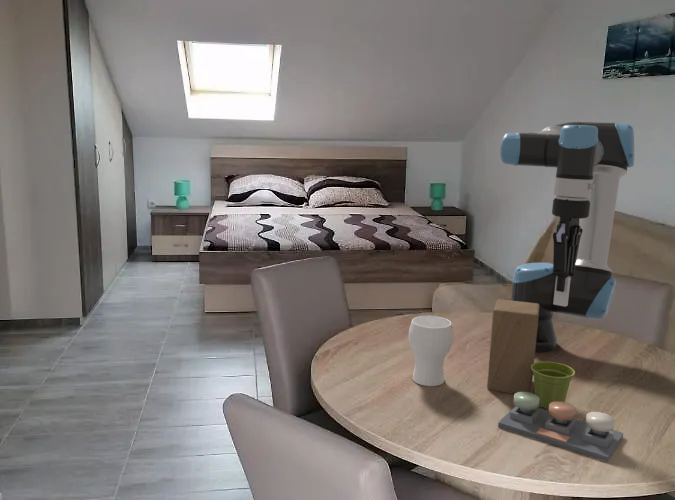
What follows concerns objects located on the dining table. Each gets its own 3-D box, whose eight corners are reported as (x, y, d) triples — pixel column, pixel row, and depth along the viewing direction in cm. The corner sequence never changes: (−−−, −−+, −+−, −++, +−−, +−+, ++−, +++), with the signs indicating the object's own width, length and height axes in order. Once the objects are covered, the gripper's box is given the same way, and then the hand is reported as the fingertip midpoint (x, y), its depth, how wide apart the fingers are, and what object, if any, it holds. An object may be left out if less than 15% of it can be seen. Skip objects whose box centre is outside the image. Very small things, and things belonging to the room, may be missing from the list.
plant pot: (521, 396, 149) (524, 361, 147) (560, 395, 150) (564, 360, 148) (537, 414, 140) (540, 377, 138) (578, 413, 141) (582, 377, 139)
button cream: (581, 432, 127) (583, 418, 126) (588, 422, 131) (590, 409, 130) (609, 440, 124) (610, 426, 123) (615, 430, 128) (617, 416, 127)
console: (497, 426, 134) (498, 416, 133) (518, 406, 143) (519, 397, 143) (607, 461, 121) (609, 450, 121) (622, 437, 131) (624, 427, 130)
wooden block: (532, 380, 158) (539, 303, 153) (530, 397, 148) (538, 315, 144) (491, 374, 161) (497, 298, 157) (486, 390, 152) (493, 309, 147)
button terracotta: (544, 421, 131) (545, 407, 130) (552, 412, 135) (553, 399, 134) (569, 429, 128) (571, 415, 127) (577, 419, 132) (579, 406, 132)
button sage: (509, 410, 135) (510, 397, 135) (518, 402, 139) (519, 389, 139) (533, 418, 132) (534, 404, 132) (541, 409, 136) (543, 396, 136)
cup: (401, 384, 153) (404, 325, 150) (412, 368, 163) (415, 312, 160) (445, 392, 150) (449, 331, 147) (453, 375, 160) (457, 318, 156)
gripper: (580, 201, 129) (568, 314, 133) (598, 198, 139) (586, 302, 144) (544, 198, 133) (533, 307, 138) (564, 195, 144) (553, 296, 148)
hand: (560, 304), depth 141 cm, fingers closed
